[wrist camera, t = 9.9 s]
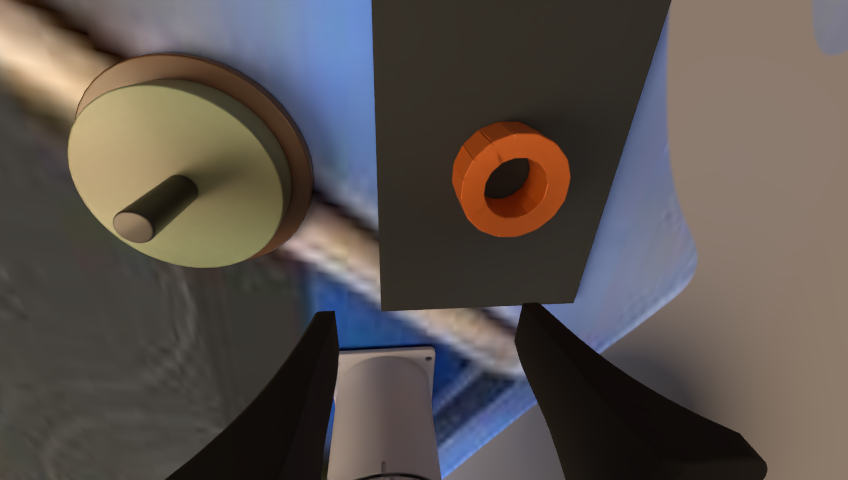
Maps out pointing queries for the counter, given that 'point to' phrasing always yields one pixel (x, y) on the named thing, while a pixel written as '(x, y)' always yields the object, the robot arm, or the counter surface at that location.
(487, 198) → the ring
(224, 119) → the ring stand
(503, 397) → the counter surface
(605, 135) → the mat
